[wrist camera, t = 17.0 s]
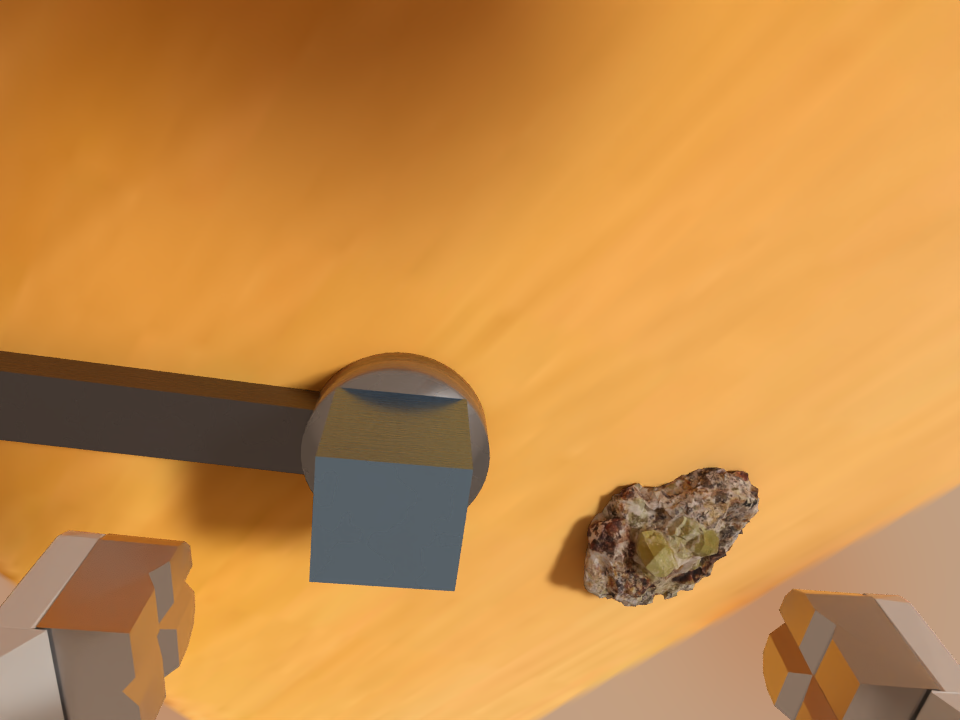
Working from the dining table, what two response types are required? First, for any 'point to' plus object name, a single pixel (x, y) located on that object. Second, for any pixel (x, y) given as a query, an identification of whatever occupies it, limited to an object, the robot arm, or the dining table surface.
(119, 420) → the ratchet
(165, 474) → the dining table surface
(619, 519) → the mineral rock
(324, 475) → the slate grey cube
